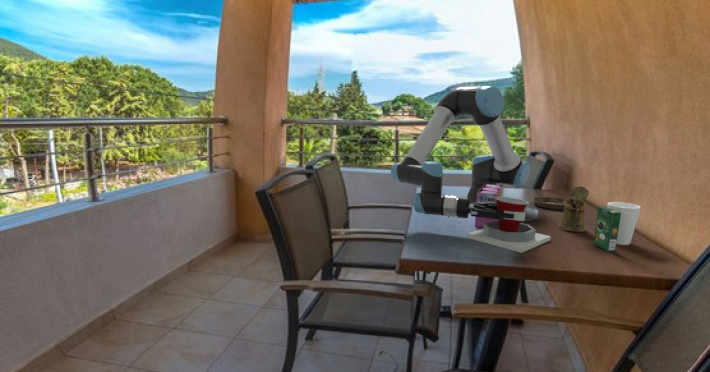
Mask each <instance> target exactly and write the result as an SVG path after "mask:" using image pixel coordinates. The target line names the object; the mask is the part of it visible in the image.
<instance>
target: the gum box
mask: <svg viewBox="0 0 710 372" xmlns="http://www.w3.org/2000/svg"><path fill="white" fill-rule="evenodd" d="M503 191H504V184H499V185H497V184H496V185H489V184H488V183H485V184H484V185H483V186H482V188H481V189H480V190H479V191H478V192H477V202H484V203H497V202H496V199H495V197H504V196H503V195H504V194H503V193H504V192H503ZM474 217H475V216H474ZM491 221H498V220H496V219H489V218H483V217H475V218H474V227H480V228H484V223H487V222H491Z"/></svg>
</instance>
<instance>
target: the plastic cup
mask: <svg viewBox="0 0 710 372" xmlns="http://www.w3.org/2000/svg"><path fill="white" fill-rule="evenodd" d="M495 199H496V202H497V210H499V211H503V212H504V211H511V212H524V210H525V208H526V209H527V205H529V203H530V202H529V201H528V200H527V201H526V200H523V199H520V198H519V199H518V198H514V197H509V196H507V197H506V196H502V197H495ZM498 223H499V230H501V231H505V232H518V229H519V225H520V223H522V221H519V220H509V219H504V218H503V221H500V220H498Z"/></svg>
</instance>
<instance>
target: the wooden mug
mask: <svg viewBox="0 0 710 372" xmlns="http://www.w3.org/2000/svg"><path fill="white" fill-rule="evenodd" d="M589 194H590V193H589V190H588V189H587V188H585V187H584V186H577V187H575V188H572V189H571V190H570V191H569V197H570V198H567V200H566V203H565V205H564V207H565V208H564V209H563V213H562V215H561V220H560V222H559V224H558V228H559V229H560V230H562V231H566V232H570V233H571V232H572V233H584V232H586V225H585V224H586V222H585V210H586V204H585V201H584V200H585V199H587V198H588V197H589Z"/></svg>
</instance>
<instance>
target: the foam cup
mask: <svg viewBox="0 0 710 372" xmlns="http://www.w3.org/2000/svg"><path fill="white" fill-rule="evenodd" d="M606 207H607V208H610V209H612V210H615V211H617V212H620V213H621V217H620V223H619V229H618V236H617V242H616V245H619V246H620V245H621V246H628V245H630V244H631V242H632V239H633V235H634V232H635V228H636V225H637V222H638V219H639V216H640V215H641V208H642V207H641V206H640V205H638V204H634V203H629V202H621V201H619V202H618V201H612V202H611V201H610V202H607V206H606Z"/></svg>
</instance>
